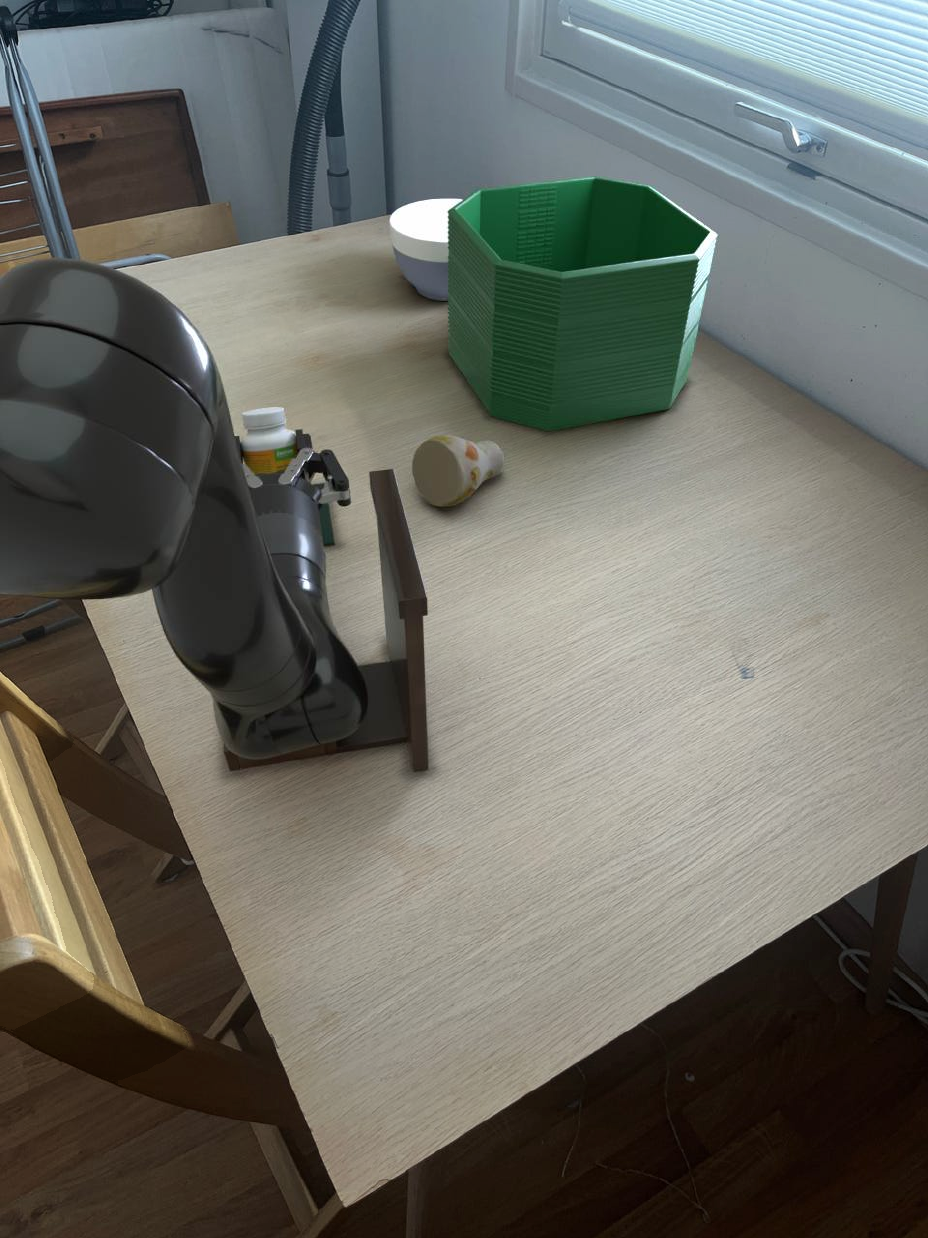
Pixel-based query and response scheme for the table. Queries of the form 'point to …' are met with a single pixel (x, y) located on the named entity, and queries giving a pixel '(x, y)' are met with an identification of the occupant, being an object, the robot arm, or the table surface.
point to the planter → (575, 299)
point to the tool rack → (401, 679)
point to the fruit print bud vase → (454, 468)
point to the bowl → (423, 245)
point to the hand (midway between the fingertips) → (268, 440)
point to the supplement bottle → (267, 441)
